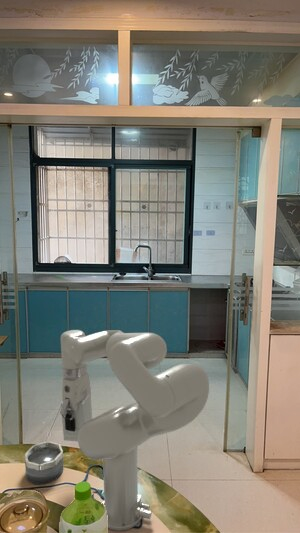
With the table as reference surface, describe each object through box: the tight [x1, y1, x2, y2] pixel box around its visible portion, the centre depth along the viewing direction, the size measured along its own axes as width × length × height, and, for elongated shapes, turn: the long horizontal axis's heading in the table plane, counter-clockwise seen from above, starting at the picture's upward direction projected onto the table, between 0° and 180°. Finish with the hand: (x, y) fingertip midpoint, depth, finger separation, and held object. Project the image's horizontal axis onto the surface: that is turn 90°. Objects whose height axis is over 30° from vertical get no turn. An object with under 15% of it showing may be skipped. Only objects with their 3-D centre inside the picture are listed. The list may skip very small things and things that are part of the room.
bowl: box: [24, 441, 64, 486], centre depth 121 cm, size 12×12×7 cm
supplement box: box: [60, 393, 93, 442], centre depth 115 cm, size 7×7×13 cm
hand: (77, 422), depth 116 cm, fingers closed on supplement box, 7 cm apart
